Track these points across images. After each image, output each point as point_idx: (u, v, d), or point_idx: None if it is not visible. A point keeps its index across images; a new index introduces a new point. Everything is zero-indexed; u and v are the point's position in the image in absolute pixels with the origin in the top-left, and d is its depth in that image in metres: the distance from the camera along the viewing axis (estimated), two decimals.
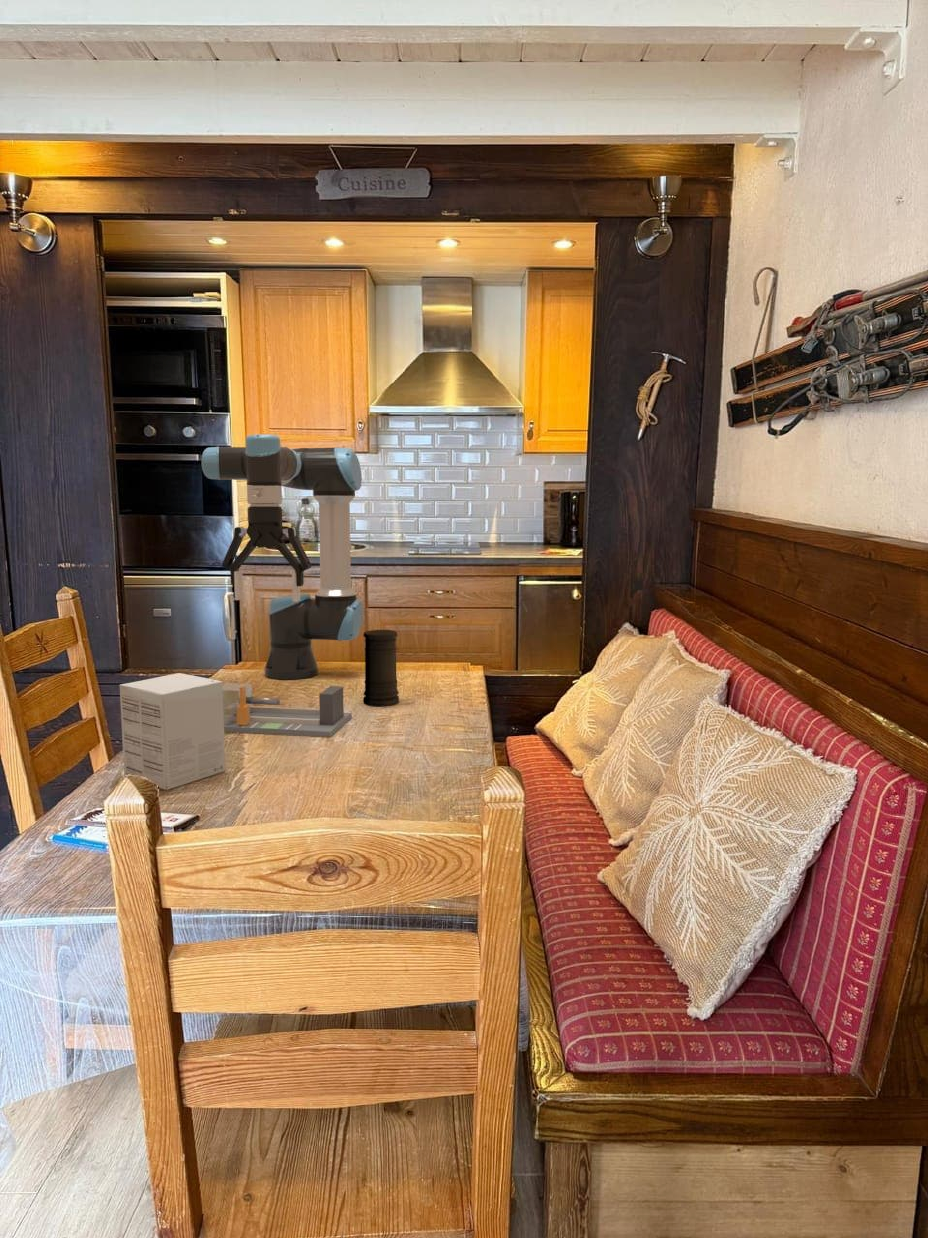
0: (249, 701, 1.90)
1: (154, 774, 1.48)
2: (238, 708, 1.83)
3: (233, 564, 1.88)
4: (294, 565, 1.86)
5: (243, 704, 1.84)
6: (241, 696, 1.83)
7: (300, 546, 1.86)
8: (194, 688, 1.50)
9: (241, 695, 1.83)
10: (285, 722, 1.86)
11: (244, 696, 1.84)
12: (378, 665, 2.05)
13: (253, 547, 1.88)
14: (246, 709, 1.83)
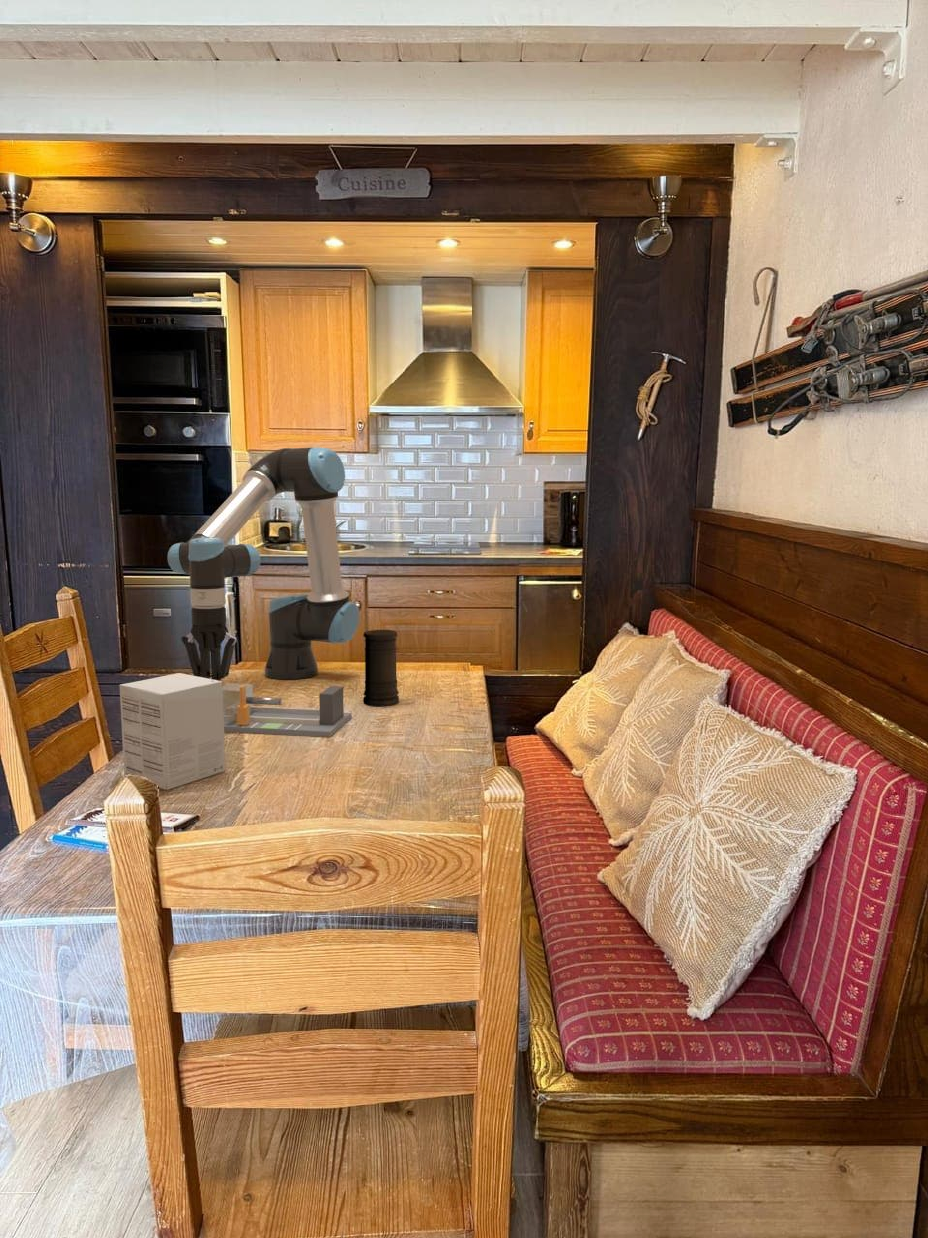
0: (250, 701, 1.90)
1: (154, 774, 1.48)
2: (238, 708, 1.83)
3: (202, 674, 1.91)
4: (213, 673, 1.90)
5: (243, 704, 1.84)
6: (241, 696, 1.83)
7: (230, 656, 1.91)
8: (194, 688, 1.50)
9: (241, 695, 1.83)
10: (285, 722, 1.86)
11: (244, 696, 1.84)
12: (378, 665, 2.05)
13: (207, 648, 1.91)
14: (246, 709, 1.83)
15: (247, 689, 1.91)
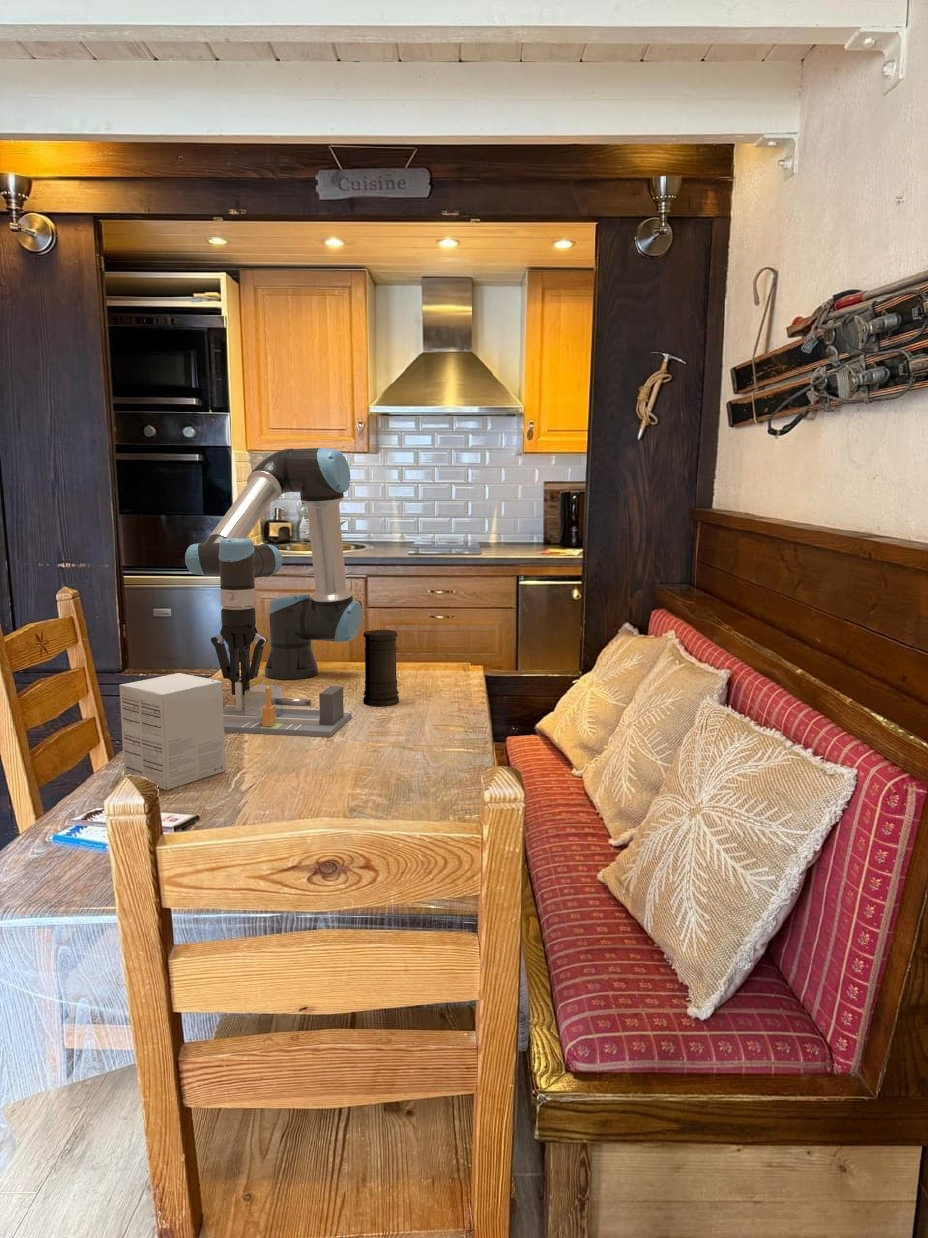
0: (280, 702, 1.89)
1: (154, 774, 1.48)
2: (264, 709, 1.82)
3: (231, 675, 1.90)
4: (243, 674, 1.89)
5: (269, 705, 1.83)
6: (267, 697, 1.82)
7: (259, 657, 1.89)
8: (194, 688, 1.50)
9: (267, 696, 1.82)
10: (285, 722, 1.86)
11: (270, 697, 1.83)
12: (378, 665, 2.05)
13: (236, 649, 1.90)
14: (271, 711, 1.82)
15: (276, 690, 1.90)
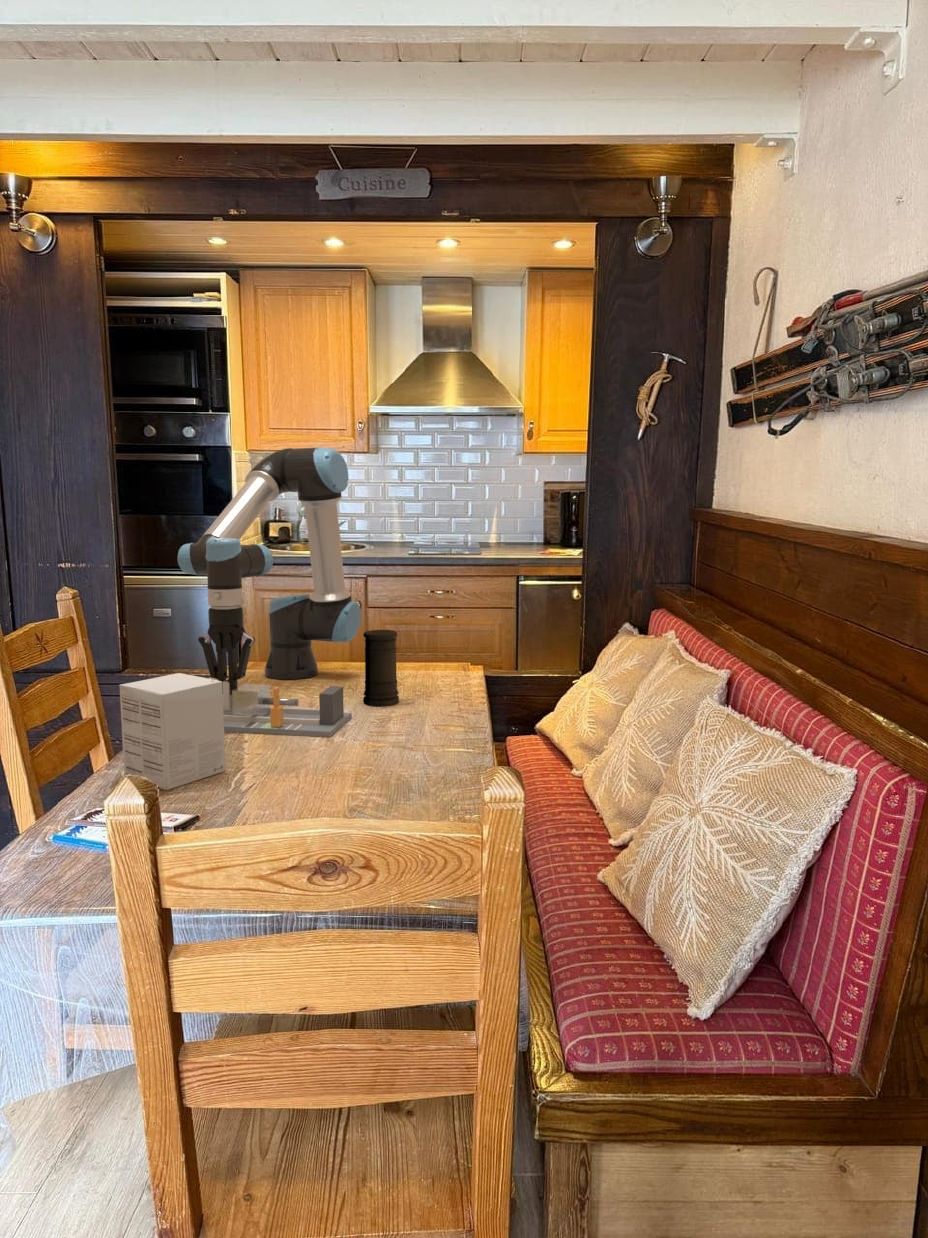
0: (267, 702, 1.90)
1: (154, 774, 1.48)
2: (272, 710, 1.82)
3: (219, 674, 1.90)
4: (230, 674, 1.90)
5: (277, 705, 1.82)
6: (275, 697, 1.82)
7: (247, 657, 1.90)
8: (194, 688, 1.50)
9: (275, 696, 1.82)
10: (285, 722, 1.86)
11: (278, 697, 1.83)
12: (378, 665, 2.05)
13: (224, 649, 1.90)
14: (279, 711, 1.82)
15: (264, 690, 1.91)
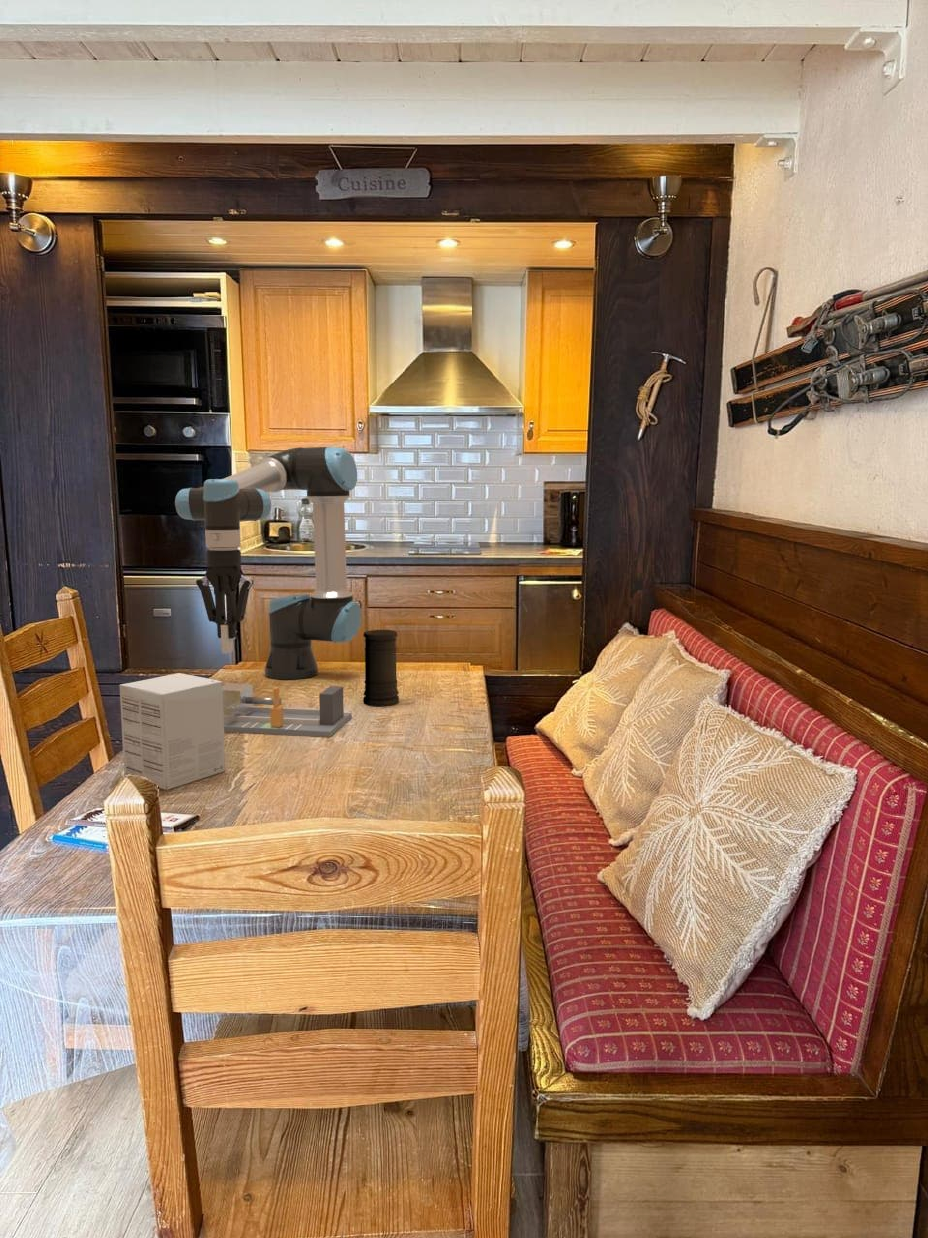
0: (250, 701, 1.90)
1: (154, 774, 1.48)
2: (272, 710, 1.82)
3: (217, 617, 1.88)
4: (229, 617, 1.88)
5: (277, 705, 1.82)
6: (275, 697, 1.82)
7: (245, 599, 1.88)
8: (194, 688, 1.50)
9: (275, 696, 1.82)
10: (285, 722, 1.86)
11: (278, 697, 1.83)
12: (378, 665, 2.05)
13: (222, 592, 1.89)
14: (279, 711, 1.82)
15: (247, 689, 1.91)
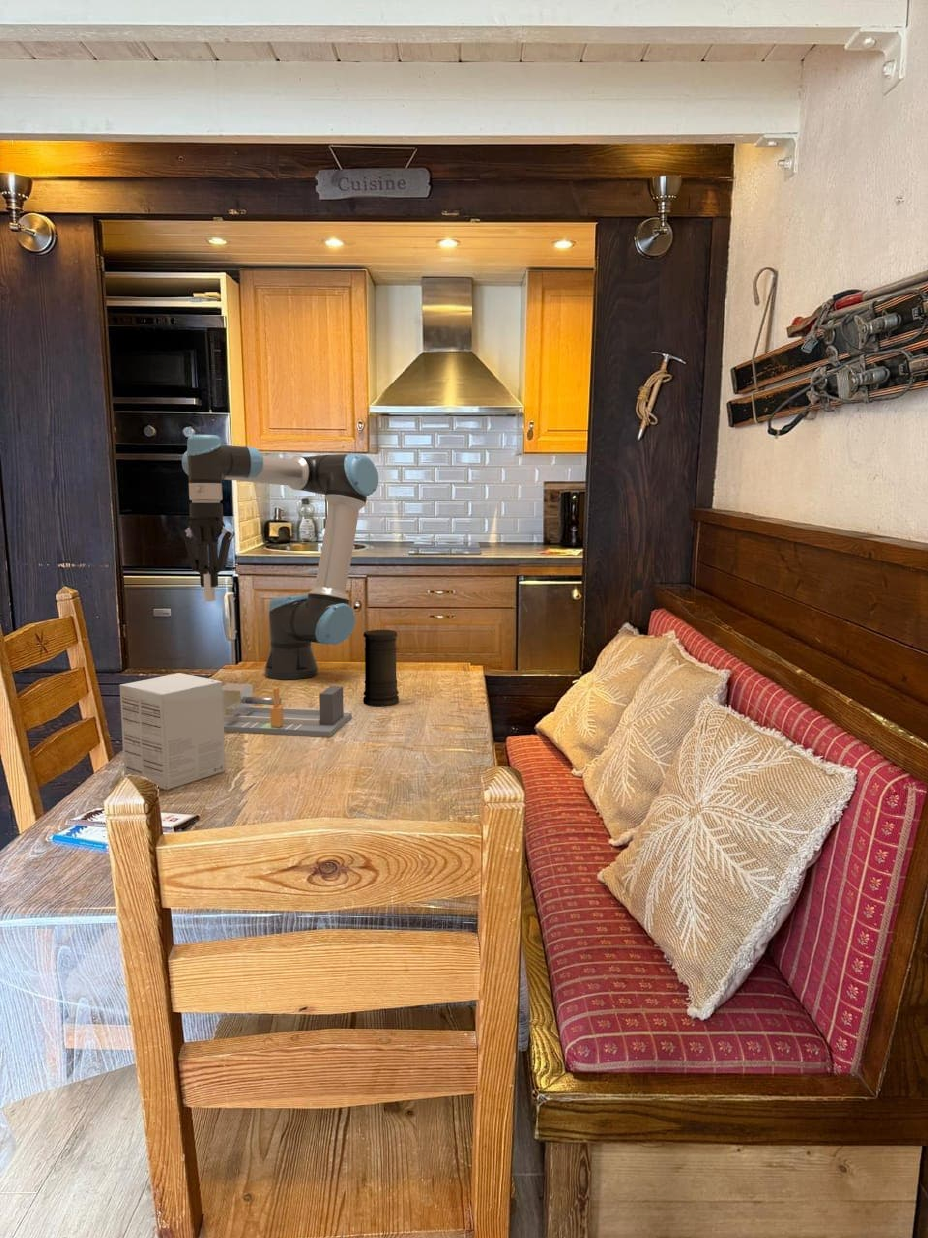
0: (250, 701, 1.90)
1: (154, 774, 1.48)
2: (272, 710, 1.82)
3: (200, 567, 1.99)
4: (211, 566, 1.98)
5: (277, 705, 1.82)
6: (275, 697, 1.82)
7: (227, 550, 1.99)
8: (194, 688, 1.50)
9: (275, 696, 1.82)
10: (285, 722, 1.86)
11: (278, 697, 1.83)
12: (378, 665, 2.05)
13: (205, 543, 1.99)
14: (279, 711, 1.82)
15: (247, 689, 1.91)
